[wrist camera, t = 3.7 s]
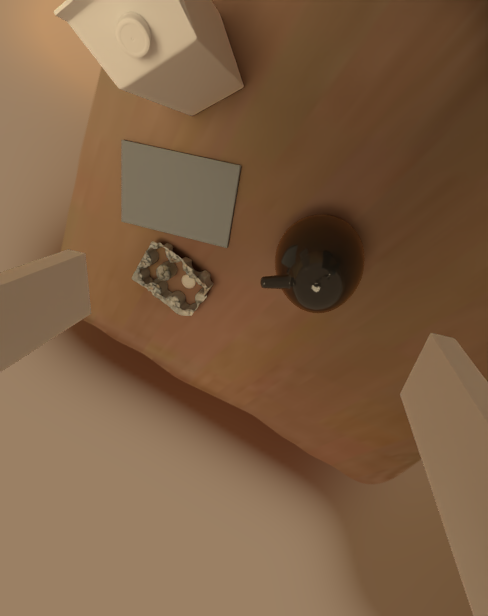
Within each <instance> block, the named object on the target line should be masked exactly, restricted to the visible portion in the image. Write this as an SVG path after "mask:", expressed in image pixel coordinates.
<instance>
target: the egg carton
mask: <svg viewBox="0 0 488 616" xmlns="http://www.w3.org/2000/svg"><path fill="white" fill-rule="evenodd" d="M160 247H164V248H165V249H166V251H165V252H166V256H167V258H168V259H169V261H167V262H165V263H163V264H161V265H160V266H159V267H158V268H157V270H156V273H157V277H158V278H157V279H155V280H153V279H152V278H151V277H150V271H149V269H148V268H147V267H148V266H150V265H152V264H154V263H155V262H157V261H158V259H159V254H158V252H157V251H156V250H155V249H158V248H160ZM179 261H182V262H183V270H184V271H186V274H187V275H184V276H183V277H182V284H183V285H184V286H185V287H186V288H189V289H190V288H193V287H194V286H195V281H196V282H197V283H198V284H199V285H201V286H202V287H203V288H202V289H201V290H200V291H199V292H198V293H197V294H196V296H195V301H196V303H193V304H191V305H189V304H187V303H186V302H185V301H186V297H185V295H184V293H183V292H181V291H175V292H173V293H172V292H170V291H169V290H168V289H167V288H168V284H167V282H166V281H167V280H169V279H170V278H171V277H173V276H174V275H175V274H176V273H177V266H176V265H175V264H174V262H179ZM132 280H134V281H135V282H137V283H139V284H140V285H142V286H144V287H146V288H147V289H148V291H151V292H152V294H153V296H155V297H157V298H158V299H160V300H161V301H162V302H163V303H165V304H167V305H168V306H169V307H170V308H171V309H172V310H173V311H174V312H175V313H177V314H179V315H184V316H191V315H192V314H193V313H194V311H195V310H196V309H197V308H198V306H199V305H200V304H201V302H203V301H204V300H205V298H206V297H207V296H206V294H207V292H208V291H209V290H210V288H211V287H212V286H213V283H212V281H211V279H210V273H209V272H208V271H206V270H204V271H202V272H198V271H195V270H194V269H193V267H192V260H191V259H189V258H187V257H185V258H182V259H181V258H180V257H179V256H178V255H176V254H175V253H173V246H172V245H171V244H169V243H166V244H165V245H162V244H161V243H155V242H154V241H152V242H151V244H150V247H149V248H148V250H147V251H146V252H145V255H144V256H143V258H142V260H141V262H140V263H139V265H138V266H137V269H136V271H135V272H134V274H133V277H132Z"/></svg>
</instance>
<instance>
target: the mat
mask: <svg viewBox="0 0 488 616" xmlns="http://www.w3.org/2000/svg"><path fill="white" fill-rule="evenodd" d="M240 172H241V165H236V164H232V163H227V162H222V161H218V160H213V159H209V158H204V157H199V156H195V155H190V154H186V153H181V152H176V151H172V150H167V149H163V148H158V147H153V146H149V145H144V144H140V143H135V142H130V141H126V140H122V222H126V223H130V224H134V225H138V226H142V227H146V228H150V229H154V230H158V231H162V232H166V233H170V234H174V235H178V236H181V237H185V238H189V239H193V240H197V241H201V242H205V243H209V244H213V245H217V246H221V247H225V248H227V247H228V244H229V238H230V232H231V226H232V220H233V214H234V208H235V202H236V196H237V190H238V184H239V178H240Z"/></svg>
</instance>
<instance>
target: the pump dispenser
mask: <svg viewBox="0 0 488 616" xmlns="http://www.w3.org/2000/svg"><path fill="white" fill-rule="evenodd" d="M275 270H276V275H275V276H266V277H262V278H261V286H262V288H276V289H282V291H283V292H284V294H285V295H286V296H287V298H288V299H289V300H290V301H291V302H292V303H293V304H294V305H296V306H297V307H299V308H300V309H302V310H305V311H307V312H312V313H324V312H329V311H332V310H334V309H336V308H338V307H339V306H341V305H342V304H343V303H345V302H346V301H347V300H348V299H349V298H350V297H351V296H352V294H353V293H354V292H355V290H356V289H357V287H358V285H359V283H360V281H361V278H362V274H363V270H364V249H363V245H362V242H361V239H360V237H359V235H358V234H357V232H356V231H355V230H354V228H353V227H352V226H351V225H350V224H348V223H347V222H346V221H344V220H342V219H340V218H338V217H335V216H331V215H324V214H319V215H312V216H308V217H305V218H303V219H301V220H299V221H297V222H296V223H294V224H293V225H292V226H291V227H289V228H288V230H287V231H286V232H285V233H284V235H283V236H282V238H281V240H280V242H279V244H278V247H277V250H276V256H275Z"/></svg>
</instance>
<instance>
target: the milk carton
mask: <svg viewBox="0 0 488 616" xmlns="http://www.w3.org/2000/svg"><path fill="white" fill-rule="evenodd" d="M54 13H55V15H56V16H58V17H60V18H61V19H63V20H65V21H67V22H68V24H69V25H70V26H71V27H72V29H73V30H74V31H75V33H76V34H77V35H78V36H79V38H80V39H81V40H82V42H83V43H84V44H85V46H86V47H87V48H88V49H89V51H90V52H91V53H92V54H93V56H94V57H95V58H96V60H97V61H98V62H99V64H100V65H101V66H102V67H103V69H104V70H105V71H106V73H107V74H108V75H109V77H110V78H111V79H112V80H113V82H114V83H115V84H116V86H117V87H118V88H119V89H122V90H124V91H126V92H129V93H132V94H134V95H137V96H140V97H142V98H145V99H148V100H150V101H153V102H156V103H158V104H161V105H164V106H166V107H169V108H171V109H174V110H177V111H179V112H182V113H185V114H187V115H190V116H193V115H195V114H197V113H199V112H201V111H202V110H204V109H206V108H208V107H210V106H211V105H213V104H215V103H217V102H219V101H220V100H222V99H224V98H226V97H228V96H229V95H231V94H233V93H235V92H236V91H238V90H240V89H242V88H243V87H244V85H243V82H242V79H241V76H240V73H239V70H238V67H237V63H236V60H235V57H234V54H233V51H232V48H231V45H230V42H229V39H228V36H227V33H226V30H225V27H224V24H223V21H222V18H221V15H220V13H219V11H218V10H217V8H216V7H215V5H214V4H213V2H212V1H211V0H66V1H65V2H64V3H63V4H61V5H60V6H59V7H58V8H57V9H56V10H55V11H54Z"/></svg>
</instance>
